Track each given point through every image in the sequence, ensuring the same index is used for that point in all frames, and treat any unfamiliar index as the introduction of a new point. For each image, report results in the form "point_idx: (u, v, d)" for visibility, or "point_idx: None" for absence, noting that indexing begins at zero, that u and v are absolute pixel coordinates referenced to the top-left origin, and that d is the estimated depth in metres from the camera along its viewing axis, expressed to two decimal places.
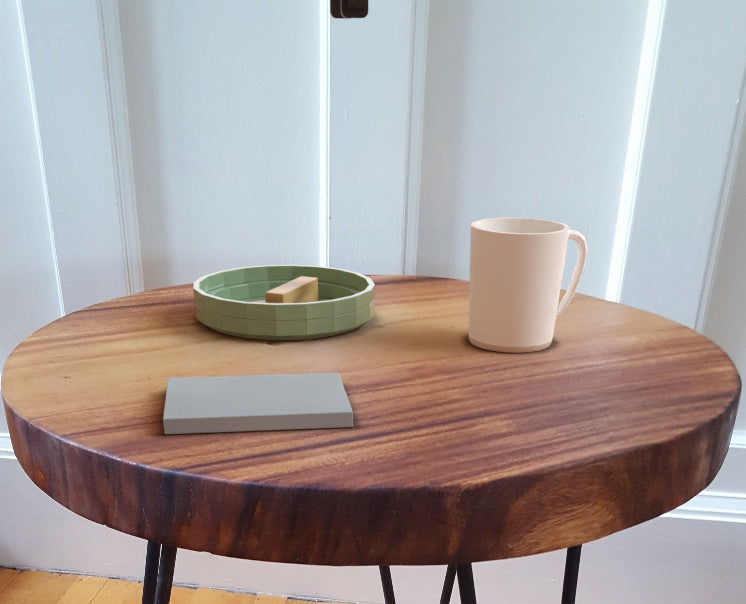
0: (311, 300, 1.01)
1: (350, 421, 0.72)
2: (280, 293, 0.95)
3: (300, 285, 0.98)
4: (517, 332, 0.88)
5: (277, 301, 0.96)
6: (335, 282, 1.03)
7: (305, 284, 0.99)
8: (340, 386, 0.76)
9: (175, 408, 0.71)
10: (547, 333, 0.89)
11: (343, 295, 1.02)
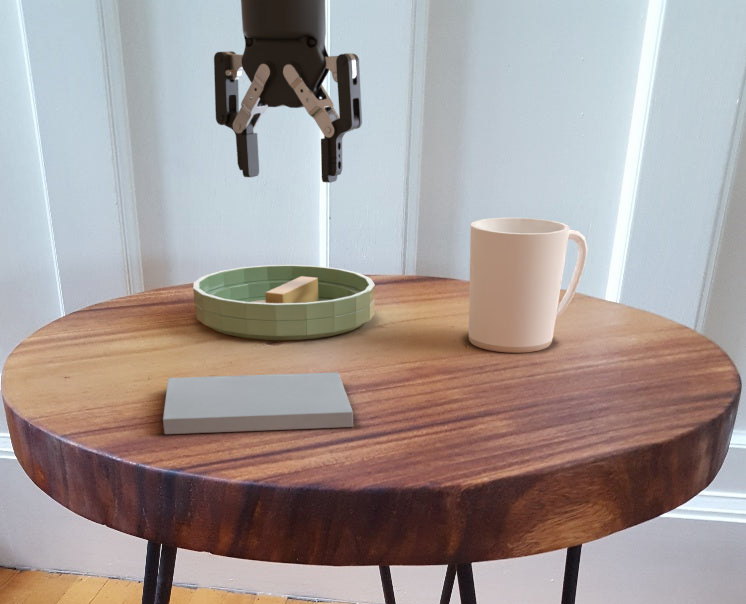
0: (311, 300, 1.01)
1: (350, 421, 0.72)
2: (280, 293, 0.95)
3: (300, 285, 0.98)
4: (517, 332, 0.88)
5: (277, 301, 0.96)
6: (335, 282, 1.03)
7: (305, 284, 0.99)
8: (340, 386, 0.76)
9: (175, 408, 0.71)
10: (547, 333, 0.89)
11: (343, 295, 1.02)
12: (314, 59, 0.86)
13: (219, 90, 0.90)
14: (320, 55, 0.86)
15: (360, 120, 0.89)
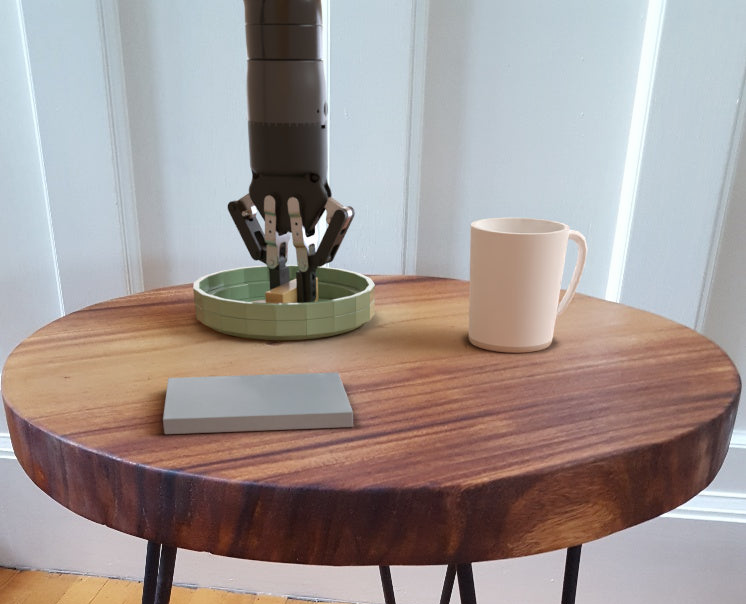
0: None
1: (350, 421, 0.72)
2: (280, 293, 0.95)
3: None
4: (517, 332, 0.88)
5: (277, 300, 0.96)
6: (335, 282, 1.03)
7: None
8: (340, 386, 0.76)
9: (175, 408, 0.71)
10: (547, 333, 0.89)
11: (343, 295, 1.02)
12: (318, 196, 0.92)
13: (244, 233, 0.97)
14: (324, 195, 0.92)
15: (332, 259, 0.97)
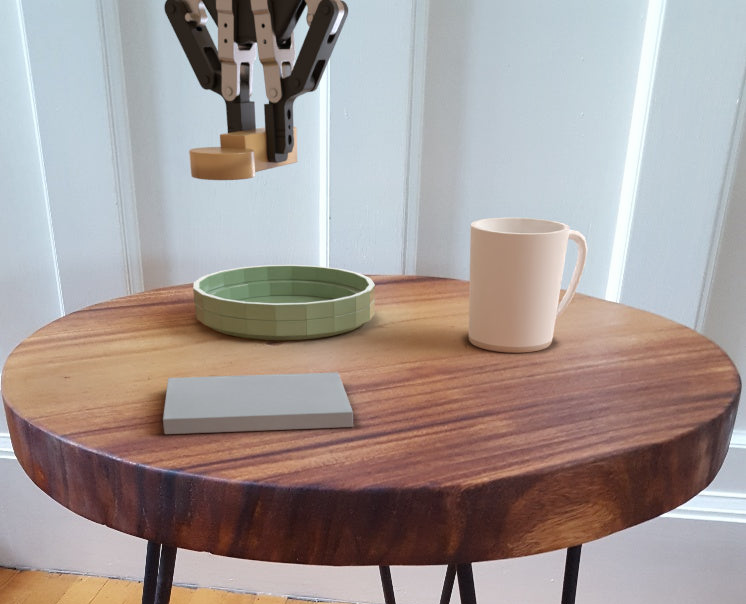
0: (287, 158, 0.72)
1: (350, 421, 0.72)
2: (241, 135, 0.66)
3: None
4: (517, 332, 0.88)
5: (237, 146, 0.66)
6: (335, 282, 1.03)
7: None
8: (340, 386, 0.76)
9: (175, 408, 0.71)
10: (547, 333, 0.89)
11: (343, 295, 1.02)
12: None
13: (189, 47, 0.67)
14: None
15: (316, 85, 0.67)
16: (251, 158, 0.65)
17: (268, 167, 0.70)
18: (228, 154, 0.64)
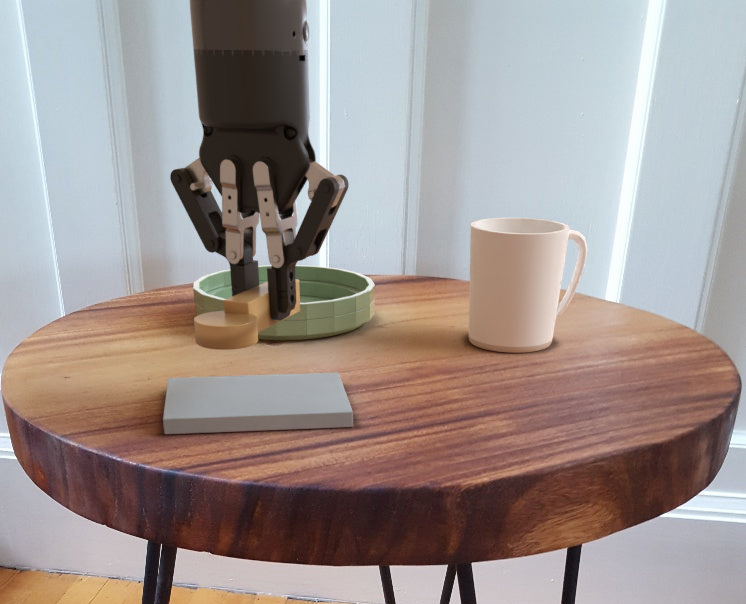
0: None
1: (350, 421, 0.72)
2: (245, 301, 0.68)
3: None
4: (517, 332, 0.88)
5: (240, 312, 0.68)
6: (335, 282, 1.03)
7: None
8: (340, 386, 0.76)
9: (175, 408, 0.71)
10: (547, 333, 0.89)
11: (343, 295, 1.02)
12: (296, 159, 0.64)
13: (194, 214, 0.69)
14: (305, 159, 0.64)
15: (317, 250, 0.69)
16: (254, 327, 0.67)
17: (271, 324, 0.71)
18: (231, 326, 0.65)
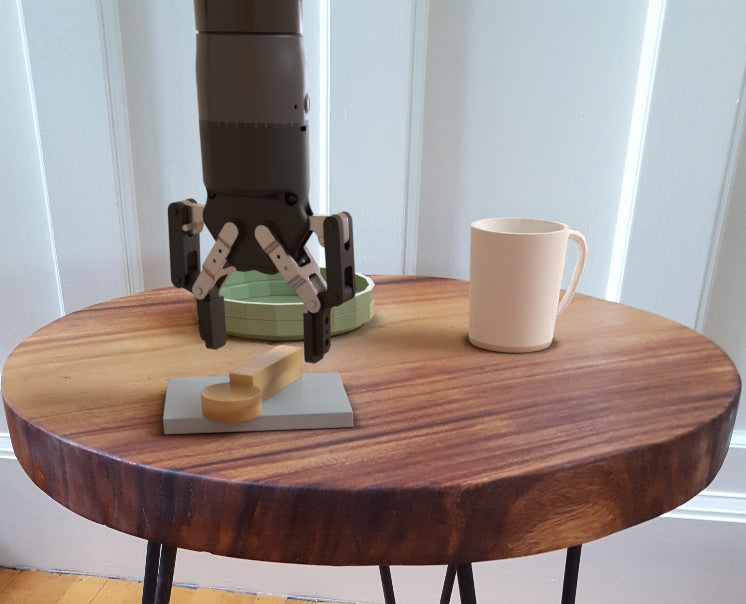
0: (293, 377, 0.77)
1: (350, 421, 0.72)
2: (249, 374, 0.71)
3: (277, 360, 0.74)
4: (517, 332, 0.88)
5: (245, 384, 0.71)
6: None
7: (284, 358, 0.75)
8: (340, 386, 0.76)
9: (175, 408, 0.71)
10: (547, 333, 0.89)
11: None
12: (295, 219, 0.67)
13: (175, 248, 0.71)
14: (302, 214, 0.67)
15: (353, 291, 0.70)
16: (259, 400, 0.70)
17: (274, 393, 0.74)
18: (237, 401, 0.68)
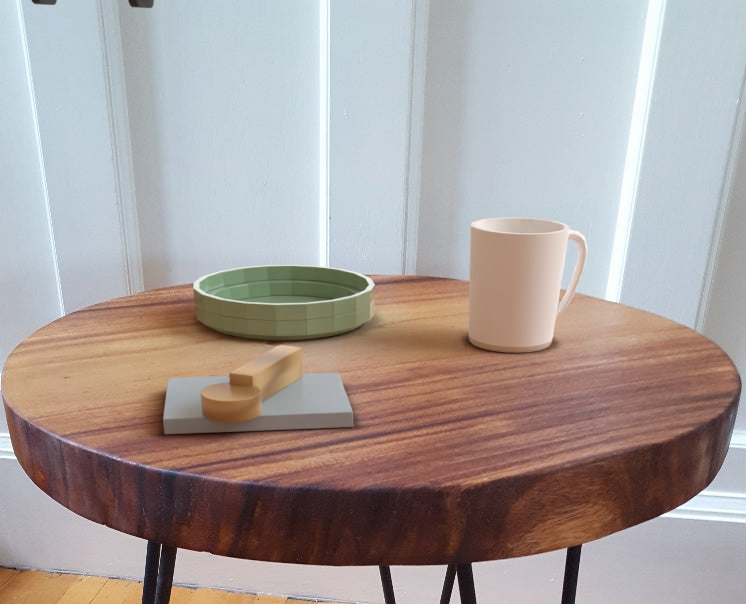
0: (293, 377, 0.77)
1: (350, 421, 0.72)
2: (249, 374, 0.71)
3: (277, 360, 0.74)
4: (517, 332, 0.88)
5: (245, 384, 0.71)
6: (335, 282, 1.03)
7: (284, 358, 0.75)
8: (340, 386, 0.76)
9: (175, 408, 0.71)
10: (547, 333, 0.89)
11: (343, 295, 1.02)
12: None
13: None
14: None
15: None
16: (259, 400, 0.70)
17: (274, 393, 0.74)
18: (237, 401, 0.68)
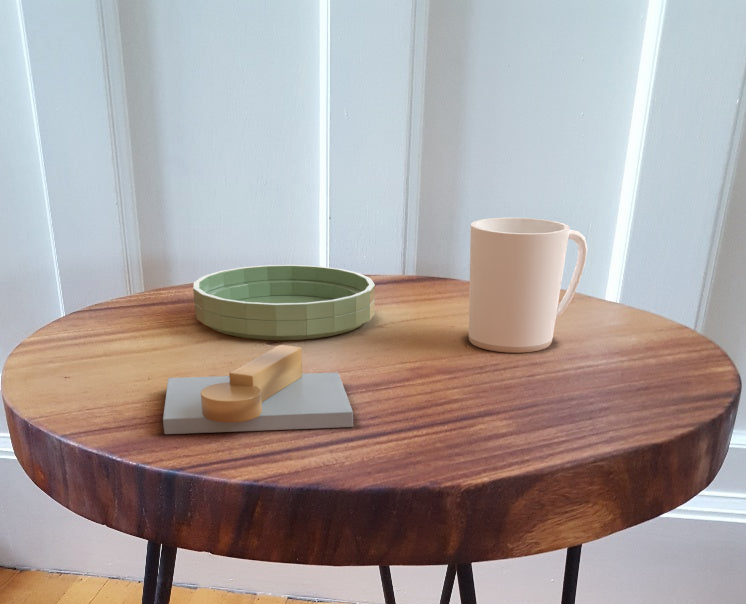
0: (293, 377, 0.77)
1: (350, 421, 0.72)
2: (249, 374, 0.71)
3: (277, 360, 0.74)
4: (517, 332, 0.88)
5: (245, 384, 0.71)
6: (335, 282, 1.03)
7: (284, 358, 0.75)
8: (340, 386, 0.76)
9: (175, 408, 0.71)
10: (547, 333, 0.89)
11: (343, 295, 1.02)
12: None
13: None
14: None
15: None
16: (259, 400, 0.70)
17: (274, 393, 0.74)
18: (237, 401, 0.68)
